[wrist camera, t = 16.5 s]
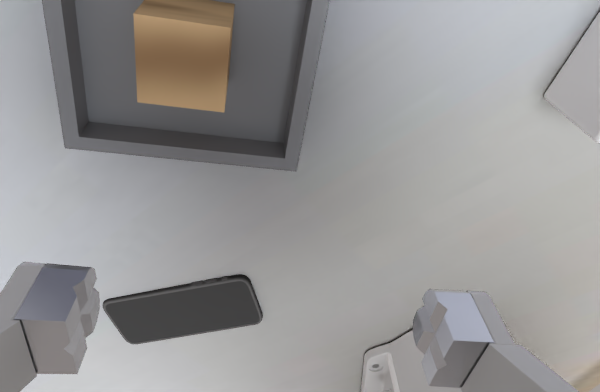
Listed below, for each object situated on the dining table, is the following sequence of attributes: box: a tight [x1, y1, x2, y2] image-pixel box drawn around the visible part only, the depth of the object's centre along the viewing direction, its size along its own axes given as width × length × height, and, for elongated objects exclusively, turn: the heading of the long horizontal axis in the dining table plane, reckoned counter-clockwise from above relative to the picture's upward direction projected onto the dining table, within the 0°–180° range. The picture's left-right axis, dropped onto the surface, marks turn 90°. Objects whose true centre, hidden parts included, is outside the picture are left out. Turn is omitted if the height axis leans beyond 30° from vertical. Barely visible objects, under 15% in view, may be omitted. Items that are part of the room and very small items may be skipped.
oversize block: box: [133, 0, 235, 113], centre depth 27 cm, size 5×5×5 cm
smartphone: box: [103, 275, 263, 344], centre depth 46 cm, size 7×1×15 cm
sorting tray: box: [42, 0, 330, 171], centre depth 29 cm, size 16×16×3 cm
